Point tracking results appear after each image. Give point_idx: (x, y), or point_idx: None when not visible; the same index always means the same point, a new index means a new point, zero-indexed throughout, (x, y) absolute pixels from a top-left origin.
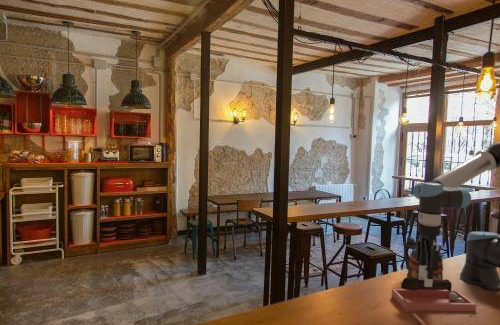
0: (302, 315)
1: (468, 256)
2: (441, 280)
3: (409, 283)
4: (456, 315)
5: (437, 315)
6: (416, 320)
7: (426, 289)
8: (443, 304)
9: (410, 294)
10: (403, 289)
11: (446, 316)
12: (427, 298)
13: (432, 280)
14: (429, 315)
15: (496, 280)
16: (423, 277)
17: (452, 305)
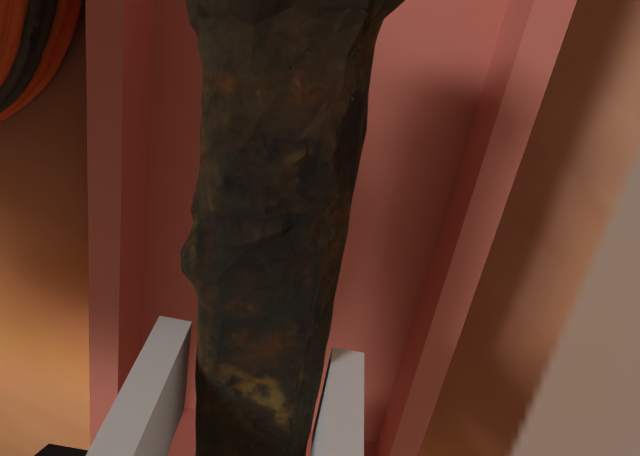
0: None
1: None
2: (246, 119)
3: None
4: (569, 32)
5: (503, 236)
6: (515, 443)
7: (31, 50)
8: (505, 193)
9: (136, 288)
10: (98, 372)
11: (548, 164)
12: (198, 128)
13: (363, 435)
14: (480, 305)
15: None
16: (163, 423)
17: (542, 73)
